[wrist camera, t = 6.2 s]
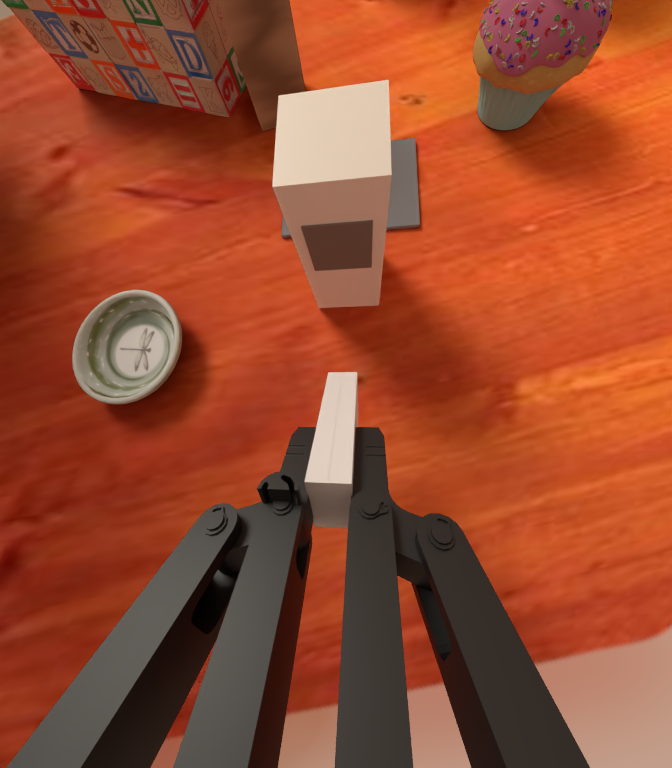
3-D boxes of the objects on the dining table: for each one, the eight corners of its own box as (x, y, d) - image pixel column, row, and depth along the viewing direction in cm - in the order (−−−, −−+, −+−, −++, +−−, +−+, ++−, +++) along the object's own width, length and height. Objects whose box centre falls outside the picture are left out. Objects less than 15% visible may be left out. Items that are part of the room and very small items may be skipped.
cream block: (318, 309, 22) (272, 188, 11) (320, 255, 23) (278, 95, 12) (379, 306, 21) (391, 176, 10) (377, 251, 22) (388, 80, 11)
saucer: (101, 312, 24) (73, 300, 22) (197, 294, 24) (178, 279, 21) (95, 414, 23) (64, 411, 20) (199, 398, 22) (179, 394, 19)
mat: (282, 237, 23) (281, 235, 23) (287, 156, 25) (286, 152, 25) (419, 227, 22) (419, 224, 22) (414, 141, 24) (415, 137, 23)
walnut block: (262, 131, 26) (189, -80, 15) (254, 96, 27) (180, -126, 16) (309, 115, 26) (269, -112, 15) (299, 80, 27) (254, -157, 16)
